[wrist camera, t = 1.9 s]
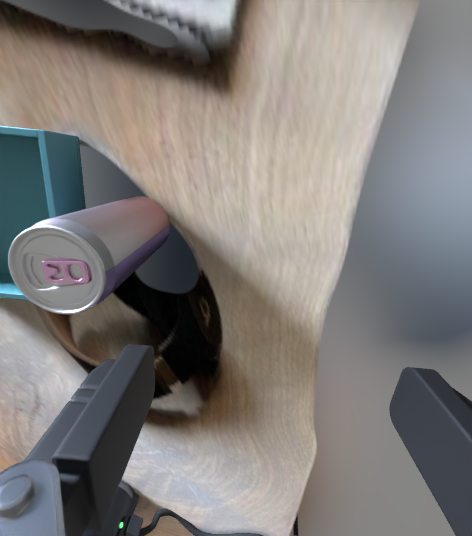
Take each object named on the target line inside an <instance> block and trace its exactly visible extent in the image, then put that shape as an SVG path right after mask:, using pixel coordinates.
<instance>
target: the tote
mask: <svg viewBox="0 0 472 536" xmlns="http://www.w3.org/2000/svg"><path fill="white" fill-rule="evenodd" d="M84 209H86V207H85V198H84V187H83V177H82V167H81V158H80V148H79V137H78V136H72V135H67V134H61V133H56V132H50V131H45V130H36V129H26V128H16V127H5V126H0V297H1V298H11V299H22V300H29V299H28V298H26V297H25V296H24V295H23V294H22V292H21V291H20V290H19V289H18V287H17V286H16V284H15V283H14V281H13V279H12V276H11V274H10V270H9V266H8V254H9V249H10V247H11V244H12V242H13V241H14V239H15V238H16V237H17V236H18V235H19V234H20V233H21V232H23V231H24V230H26V229H28V228H31V227H32V226H33V225H35V224H36V223H38V222H40V221H43V220H46V219H50V218H54V217H58V216H62V215H65V214H69V213H73V212H77V211H80V210H84Z"/></svg>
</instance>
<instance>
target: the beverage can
mask: <svg viewBox="0 0 472 536" xmlns="http://www.w3.org/2000/svg"><path fill="white" fill-rule="evenodd" d="M169 231H170V223H169V219H168V216H167V214H166V212H165V210H164V209H163V208H162V206H161V205H160V204H158V203H157V202H156V201H154V200H152V199H150V198H148V197H144V196H134V197H130V198H126V199H122V200H118V201H115V202H111V203H107V204H103V205H100V206H96V207H92V208H88V209H84V210H80V211H77V212H73V213H69V214H65V215H62V216H58V217H54V218H50V219H46V220H43V221H40V222H38V223H36V224H35V225H33V226H32V227H31V228H28V229H26V230H24V231H23V232H21V233H20V234H19V235H18V236H17V237H16V238H15V239H14V241H13V242H12V244H11V247H10V249H9V254H8V266H9V270H10V274H11V276H12V279H13V281H14V283H15V284H16V286H17V287H18V289H19V290H20V291H21V292H22V294H23V295H24V296H25V297H26V298H28V299H29V300H30V301H31V302H33V303H34V304H35V305H37V306H39V307H41V308H43V309H45V310H47V311H50V312H54V313H58V314H76V313H80V312H83V311H85V310H87V309H89V308H91V307H92V306H95V305H97V304H99V303H100V302H102V301H103V300H104V299H106V298H107V297H108V296H109V295H110V294H111V293H112V292H113V291H114V290H115V289H116V288H117V287H118V286H119V285H120V284H121V283H122V282H124V281H125V280H126V279H127V278H128V277H129V276H130V275H131V274H132V273H133V272H134V271H135V270H136V269H137V268H138V267H139V266H140V265H141V264H142V263H144V262H145V261H146V260H147V259H148V258H149V257H150V256H151V255H152V254H153V253H154V252H155V251H156V250H157V249H158V248H160V247H161V246H162V245H163V244H164V242H165V241H166V240H167V238H168V235H169Z"/></svg>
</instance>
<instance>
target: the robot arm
mask: <svg viewBox="0 0 472 536" xmlns="http://www.w3.org/2000/svg"><path fill="white" fill-rule="evenodd" d="M154 390H155V369H154V349H153V347H152V346H147V345H135V344H128V345H126V347H125V348H124V349H123V351H122V352H121V354H120V355H119V357H118V358H117V360H109V359H107V360H106V361H104V362H103V363H102V364H100V365H99V366H98V367H96V368H95V369H93V370H92V371H91V372H90V374H89V375H88V376H87V378H86V379H85V380H84V382H83V383H82V384H81V387H80V388H78V390H77V391H76V392H75V394H74V395H73V396H72V398H71V401H69V402H68V403H67V404H66V406H65V407H64V408H63V410H62V411H61V412H60V414H59V415H58V416H57V418H56V419H55V420H54V422H53V423H52V424H51V426H50V427H49V428H48V430H47V431H46V432H45V434H44V435H43V436H42V438H41V439H40V440H39V442H38V443H37V444H36V446H35V447H34V448H33V450H32V451H31V452H30V454H29V455H28V456H27V457H26V458H25V460H24V461H23V462H20V463H17V464H15V465H13V466H11V467H9V468H7V469H5V470H4V471H2V472H0V536H144V535H147V534H148V533H150V532H151V531H152V530H153V529H154V528H155V527H156V525H157V523H158V521H159V518H160V517H162V516H167V515H169V516H172V517H174V518H176V519H177V520H178V521H179V522H180V523H181V524H182V525H183V526H184V527H185V528H186V529H187V530H188V531H190V532H191V533H192V534H193V535H195V536H263V535H259V534H252V533H235V534H211V533H206V532H203V531H200V530H198V529H197V528H195V527H194V526H193V525H192V524H191V523H189V522H188V521H186V520H185V519H183V518H182V517H180V516H179V515H177V514H176V513H174V512H172V511H171V510H168V509H161V510H159V511H158V512H157V513H156V514H155V516H154V518H153V520H152V522H151V524H150V525H148V526H147V527H144V528H141V525H142V522H143V518H141V517H138V516H136V515H134V514H133V513H134V510H135V507H136V504H137V501H138V497H139V496H138V495H136V494H135V493H134V492H133V490H132V489H131V488H130V486H129V485H127V484H126V483H125V482H123V481H121V479H122V476H123V474H124V471H125V469H126V466H127V464H128V461H129V459H130V456H131V454H132V451H133V449H134V446H135V444H136V441H137V439H138V436H139V434H140V431H141V429H142V426H143V424H144V421H145V419H146V416H147V414H148V411H149V409H150V406H151V403H152V400H153V396H154ZM390 416H391V420H392V422H393V425H394V427H395V429H396V430H397V432H398V434H399V436H400V437H401V439H402V441H403V443H404V444H405V446H406V448H407V450H408V451H409V453H410V455H411V457H412V459H413V460H414V462H415V464H416V466H417V467H418V469H419V471H420V473H421V474H422V476H423V478H424V480H425V482H426V483H427V485H428V487H429V489H430V490H431V492H432V494H433V496H434V497H435V499H436V501H437V502H438V505H439V506H440V508H441V510H442V512H443V513H444V515H445V517H446V519H447V521H448V522H449V524H450V526H451V528H452V529H453V531H454V533H455V535H456V536H472V402H471V401H470V400H469V399H467V398H466V397H465V396H463V395H462V394H460V393H459V392H458V391H456V390H455V389H454V388H452V387H451V386H450V385H449V384H448V383H447V382H446V381H445V380H444V379H443V378H442V377H441V376H440V375H439V373H438V372H436V371H435V370H432V369H422V368H410V367H407V368H405V369H403V371H402V373H401V376H400V379H399V381H398V384H397V386H396V389H395V392H394V395H393V397H392V400H391V404H390ZM293 531H294V532H293V534H294V535H293V536H298V513H297V516H296V519H295V521H294V524H293Z"/></svg>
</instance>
